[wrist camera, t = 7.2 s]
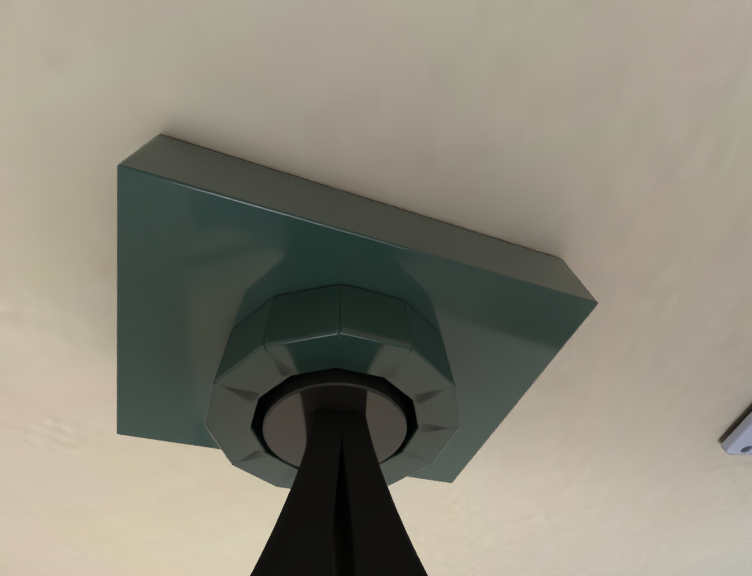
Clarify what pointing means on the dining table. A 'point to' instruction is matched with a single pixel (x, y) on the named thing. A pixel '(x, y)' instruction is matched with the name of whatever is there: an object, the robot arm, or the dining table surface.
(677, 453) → the dining table surface
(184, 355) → the green push button box
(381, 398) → the dark grey push button
